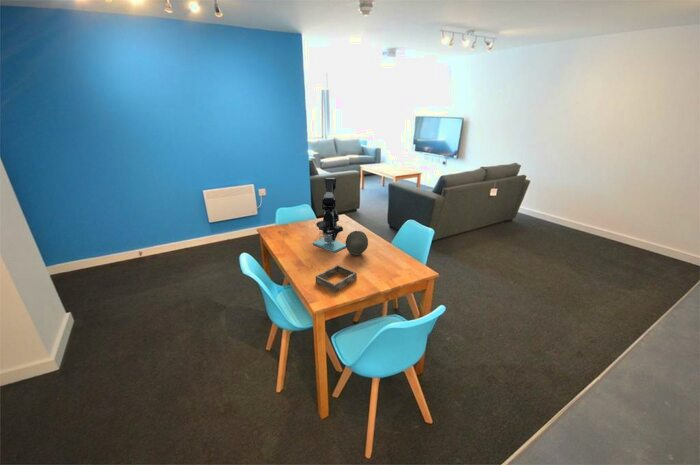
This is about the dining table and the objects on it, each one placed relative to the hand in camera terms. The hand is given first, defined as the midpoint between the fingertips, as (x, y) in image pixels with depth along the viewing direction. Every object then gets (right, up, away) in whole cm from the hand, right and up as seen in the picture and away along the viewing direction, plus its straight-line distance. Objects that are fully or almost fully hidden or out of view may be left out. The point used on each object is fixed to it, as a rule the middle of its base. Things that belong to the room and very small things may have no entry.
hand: (329, 238), depth 195 cm
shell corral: (+6, -21, -40) cm, 46 cm away
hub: (0, -1, 0) cm, 1 cm away
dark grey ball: (+17, -10, -11) cm, 23 cm away
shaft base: (0, -4, +2) cm, 5 cm away
